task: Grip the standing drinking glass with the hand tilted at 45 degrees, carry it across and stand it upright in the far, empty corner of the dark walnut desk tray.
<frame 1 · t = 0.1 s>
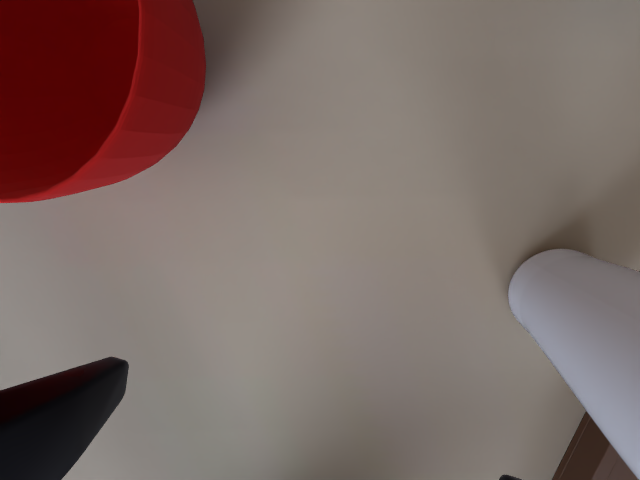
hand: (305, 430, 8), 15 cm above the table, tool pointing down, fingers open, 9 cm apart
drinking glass: (549, 288, 22), on the table
ceramic cup: (115, 89, 22), on the table
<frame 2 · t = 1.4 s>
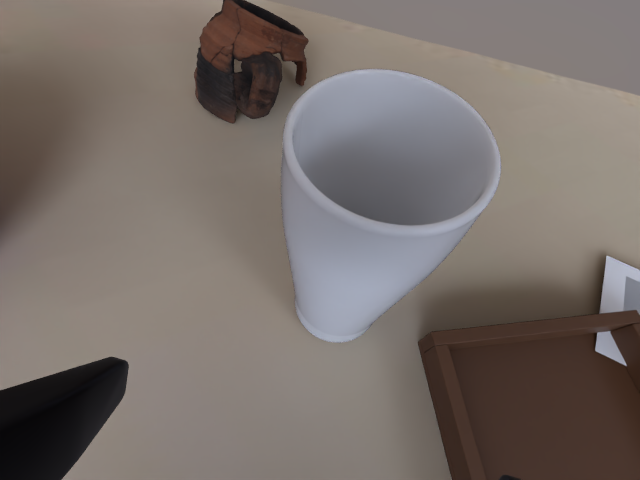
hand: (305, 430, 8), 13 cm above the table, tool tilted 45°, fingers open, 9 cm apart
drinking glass: (334, 305, 24), on the table
pottery mug: (254, 99, 33), on the table
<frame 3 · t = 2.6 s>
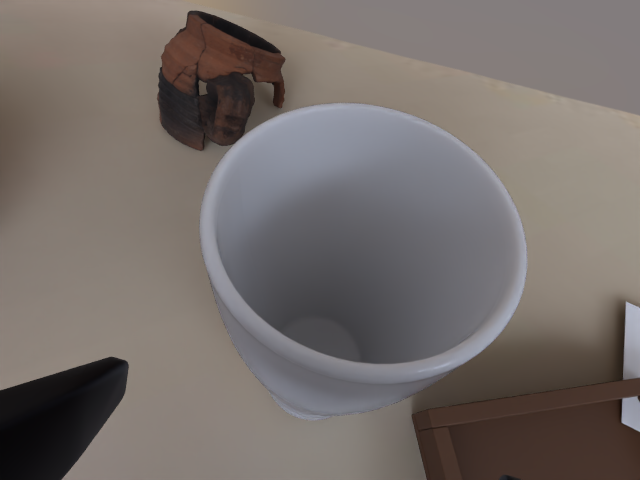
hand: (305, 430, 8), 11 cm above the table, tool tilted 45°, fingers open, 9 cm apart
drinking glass: (312, 368, 20), on the table
pottery mug: (227, 123, 30), on the table
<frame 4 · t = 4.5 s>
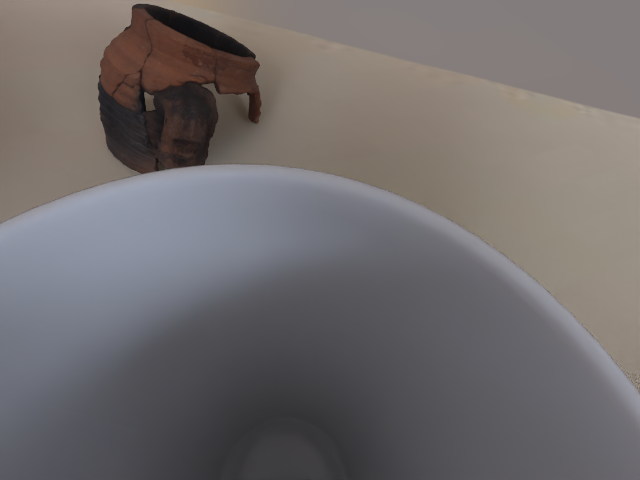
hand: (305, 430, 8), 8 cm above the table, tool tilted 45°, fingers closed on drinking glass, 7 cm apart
pottery mug: (191, 142, 24), on the table
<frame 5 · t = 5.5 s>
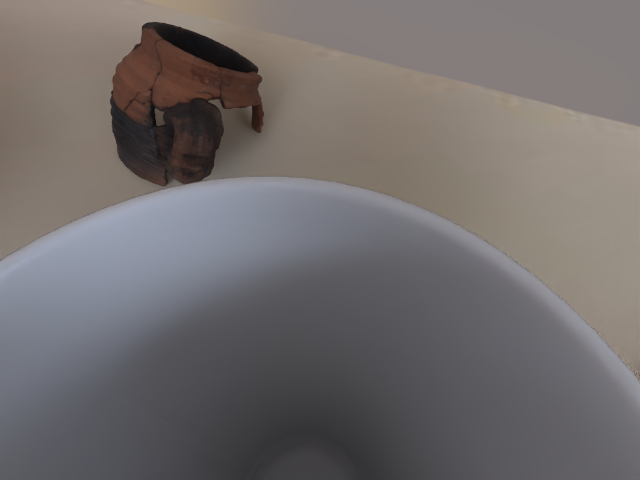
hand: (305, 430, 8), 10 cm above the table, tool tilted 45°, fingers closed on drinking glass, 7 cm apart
pottery mug: (197, 150, 26), on the table
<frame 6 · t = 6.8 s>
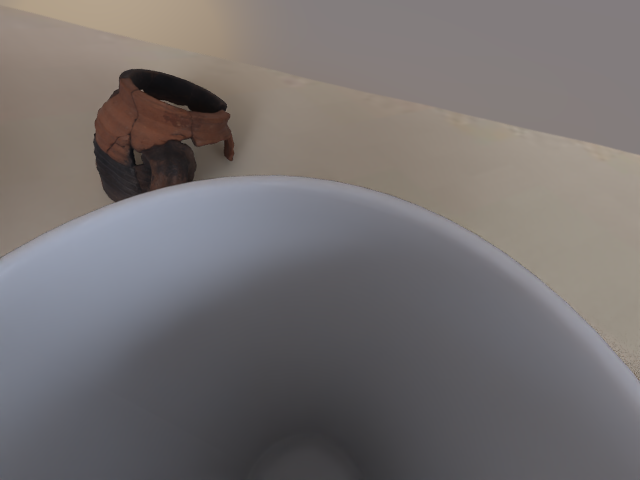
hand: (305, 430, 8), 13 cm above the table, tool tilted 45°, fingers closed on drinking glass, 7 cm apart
pottery mug: (175, 179, 28), on the table
when the fingers open (9 cm above the table, at t = 10.7 s): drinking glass stays where it is, resting on tray.
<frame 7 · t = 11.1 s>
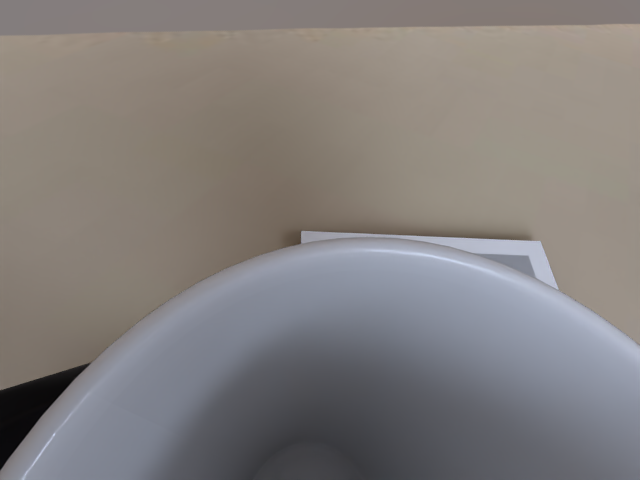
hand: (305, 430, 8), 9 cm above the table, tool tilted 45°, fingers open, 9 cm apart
touchpad: (427, 304, 21), on the table, touching tray
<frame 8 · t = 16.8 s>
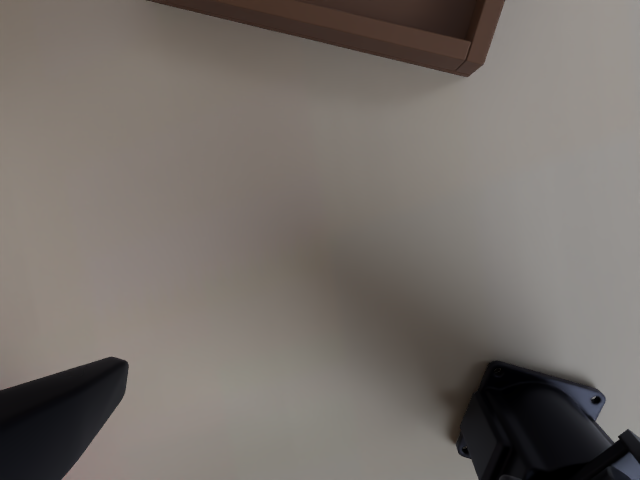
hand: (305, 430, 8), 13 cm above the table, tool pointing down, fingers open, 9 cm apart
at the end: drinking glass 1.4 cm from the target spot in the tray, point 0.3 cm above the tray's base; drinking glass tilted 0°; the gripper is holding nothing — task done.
